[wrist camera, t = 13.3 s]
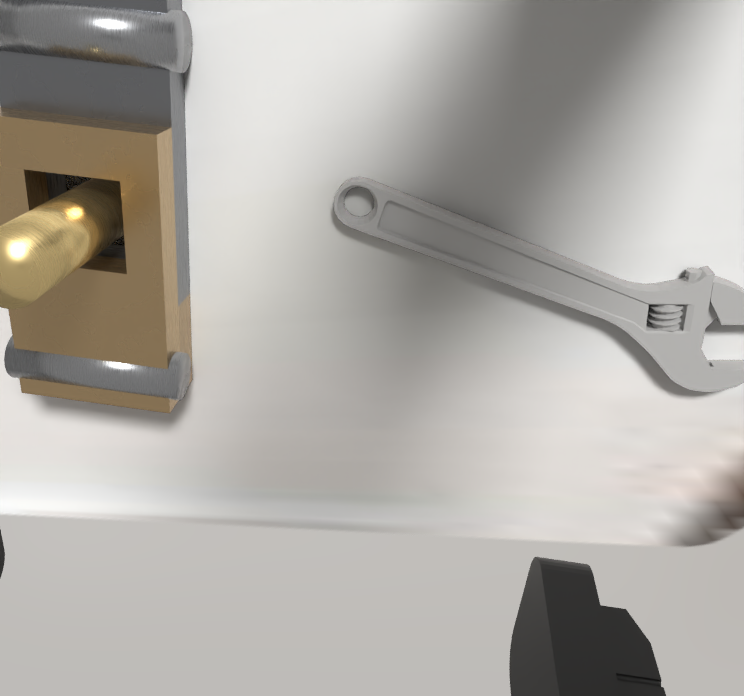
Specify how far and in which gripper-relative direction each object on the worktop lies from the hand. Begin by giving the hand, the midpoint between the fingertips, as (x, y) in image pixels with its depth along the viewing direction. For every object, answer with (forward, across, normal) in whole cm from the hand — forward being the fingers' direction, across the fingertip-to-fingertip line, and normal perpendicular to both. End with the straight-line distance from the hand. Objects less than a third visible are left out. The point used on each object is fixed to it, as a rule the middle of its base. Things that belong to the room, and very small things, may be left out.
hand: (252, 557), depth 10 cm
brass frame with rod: (+30, +16, +5) cm, 34 cm away
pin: (+30, +16, +5) cm, 34 cm away
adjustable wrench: (+31, -10, +5) cm, 33 cm away
